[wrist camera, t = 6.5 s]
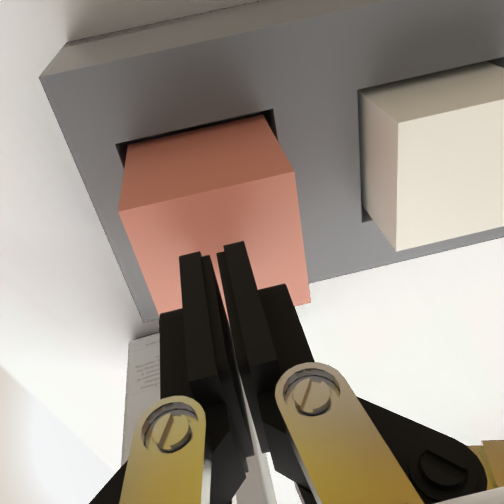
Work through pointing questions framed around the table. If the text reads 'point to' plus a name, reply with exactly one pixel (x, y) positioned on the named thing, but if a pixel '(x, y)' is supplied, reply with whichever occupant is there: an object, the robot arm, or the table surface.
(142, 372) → the skincare box
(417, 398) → the table surface
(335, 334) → the table surface
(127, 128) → the key housing
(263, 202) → the brick key
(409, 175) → the ivory key
